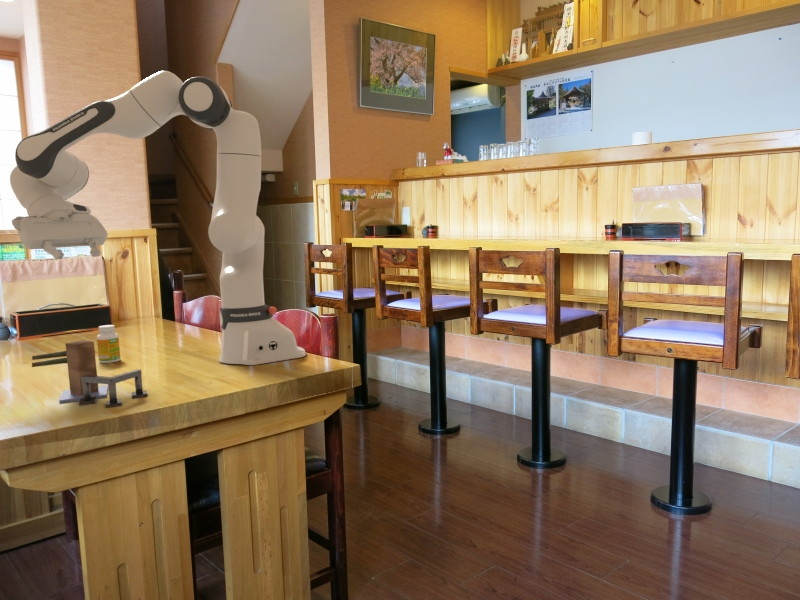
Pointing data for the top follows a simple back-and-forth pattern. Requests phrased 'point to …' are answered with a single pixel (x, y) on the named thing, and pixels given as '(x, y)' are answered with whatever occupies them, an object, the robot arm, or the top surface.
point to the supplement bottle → (108, 344)
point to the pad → (70, 397)
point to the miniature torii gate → (49, 362)
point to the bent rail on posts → (112, 387)
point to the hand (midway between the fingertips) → (79, 256)
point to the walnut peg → (81, 365)
